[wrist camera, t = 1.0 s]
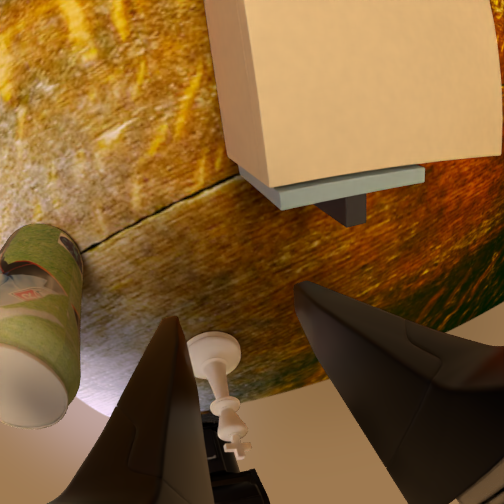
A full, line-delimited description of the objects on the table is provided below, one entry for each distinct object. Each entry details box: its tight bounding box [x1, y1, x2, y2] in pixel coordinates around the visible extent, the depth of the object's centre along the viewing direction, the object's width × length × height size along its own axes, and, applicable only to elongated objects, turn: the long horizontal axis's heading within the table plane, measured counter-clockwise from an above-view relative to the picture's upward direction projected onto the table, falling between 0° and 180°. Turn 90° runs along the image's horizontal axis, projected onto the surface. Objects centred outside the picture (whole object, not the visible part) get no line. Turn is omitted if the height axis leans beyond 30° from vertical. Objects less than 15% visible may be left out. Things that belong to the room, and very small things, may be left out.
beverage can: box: [0, 224, 83, 429], centre depth 13 cm, size 6×7×12 cm
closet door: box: [238, 164, 425, 227], centre depth 17 cm, size 3×8×7 cm, turn 98°
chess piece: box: [187, 331, 252, 460], centre depth 21 cm, size 5×5×10 cm
